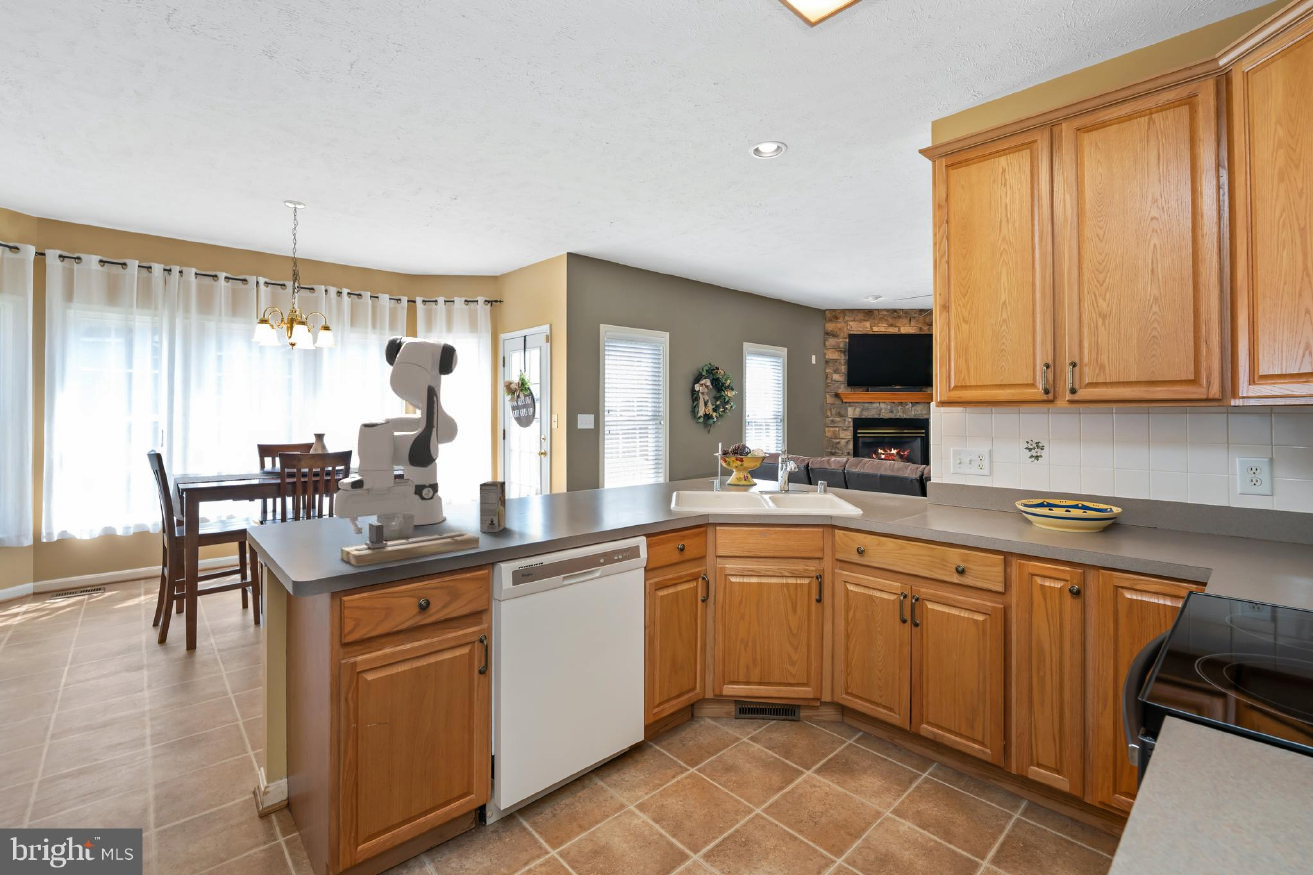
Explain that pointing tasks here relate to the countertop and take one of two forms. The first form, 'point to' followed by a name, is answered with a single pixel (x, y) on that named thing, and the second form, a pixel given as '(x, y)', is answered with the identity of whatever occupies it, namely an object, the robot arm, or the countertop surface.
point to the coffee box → (492, 506)
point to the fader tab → (376, 536)
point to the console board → (409, 548)
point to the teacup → (403, 526)
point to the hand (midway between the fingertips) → (376, 531)
